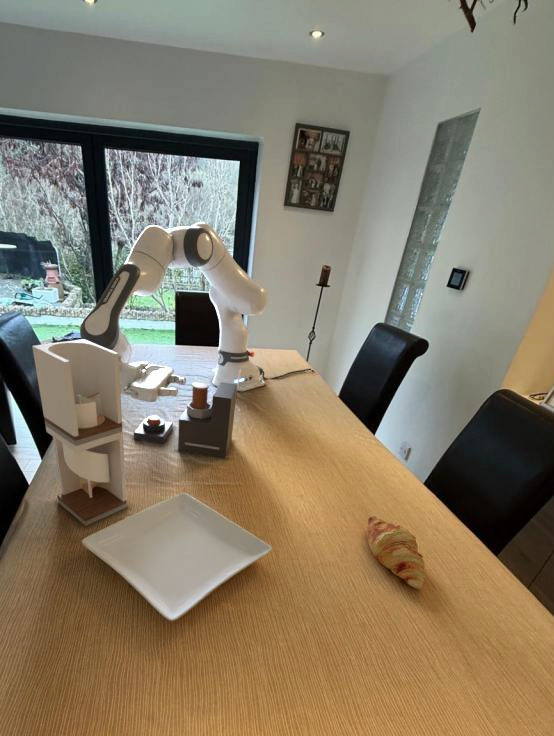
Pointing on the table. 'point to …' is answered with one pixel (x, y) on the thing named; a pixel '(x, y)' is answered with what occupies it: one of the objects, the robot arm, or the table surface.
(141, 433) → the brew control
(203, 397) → the coffee pod
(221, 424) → the coffee maker
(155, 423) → the brew button
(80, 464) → the spiral staircase model
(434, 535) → the table surface
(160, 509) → the square plate
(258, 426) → the table surface
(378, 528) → the croissant
